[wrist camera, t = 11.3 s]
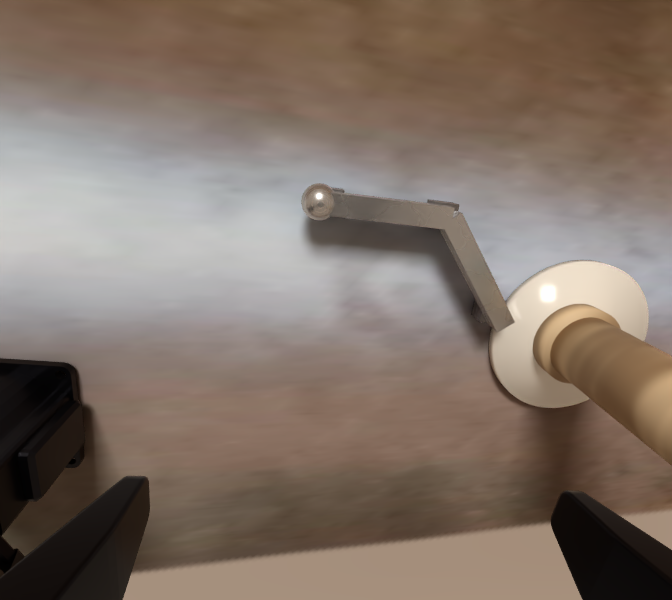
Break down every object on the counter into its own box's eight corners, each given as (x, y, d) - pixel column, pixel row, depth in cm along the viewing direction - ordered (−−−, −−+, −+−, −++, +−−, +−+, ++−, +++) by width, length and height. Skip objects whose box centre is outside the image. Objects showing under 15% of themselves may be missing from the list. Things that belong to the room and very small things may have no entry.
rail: (291, 300, 20) (290, 318, 18) (303, 179, 18) (303, 182, 16) (492, 318, 22) (514, 336, 20) (523, 207, 20) (551, 213, 18)
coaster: (472, 397, 23) (476, 403, 23) (512, 251, 21) (518, 254, 20) (607, 406, 25) (614, 411, 24) (664, 268, 22) (673, 271, 21)
